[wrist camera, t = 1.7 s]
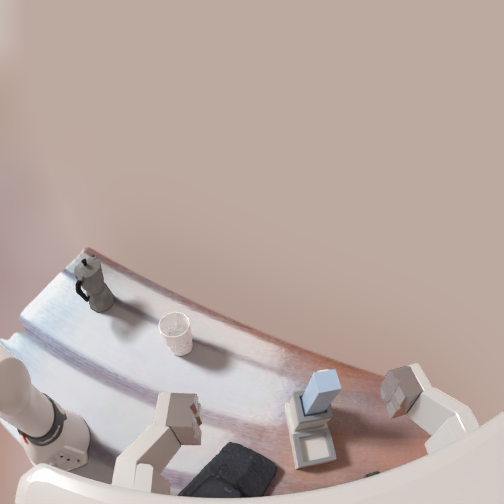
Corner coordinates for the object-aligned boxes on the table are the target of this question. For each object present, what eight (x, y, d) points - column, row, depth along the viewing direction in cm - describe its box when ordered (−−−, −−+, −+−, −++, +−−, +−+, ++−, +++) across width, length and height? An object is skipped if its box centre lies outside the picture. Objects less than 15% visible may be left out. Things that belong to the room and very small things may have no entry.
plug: (323, 413, 49) (341, 388, 41) (304, 416, 48) (318, 392, 40) (318, 394, 52) (334, 366, 44) (300, 397, 52) (312, 369, 44)
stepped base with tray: (332, 461, 46) (346, 453, 40) (295, 469, 45) (304, 463, 39) (318, 400, 59) (328, 384, 53) (284, 406, 58) (289, 390, 52)
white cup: (196, 335, 74) (191, 312, 68) (193, 359, 68) (187, 338, 62) (169, 333, 74) (161, 311, 68) (164, 357, 68) (155, 336, 62)
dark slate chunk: (288, 470, 46) (291, 468, 43) (229, 541, 31) (227, 544, 28) (230, 437, 52) (229, 432, 49) (169, 502, 38) (163, 502, 35)
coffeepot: (97, 287, 86) (80, 246, 75) (119, 288, 87) (104, 246, 75) (82, 321, 74) (59, 280, 63) (106, 324, 74) (85, 281, 63)
